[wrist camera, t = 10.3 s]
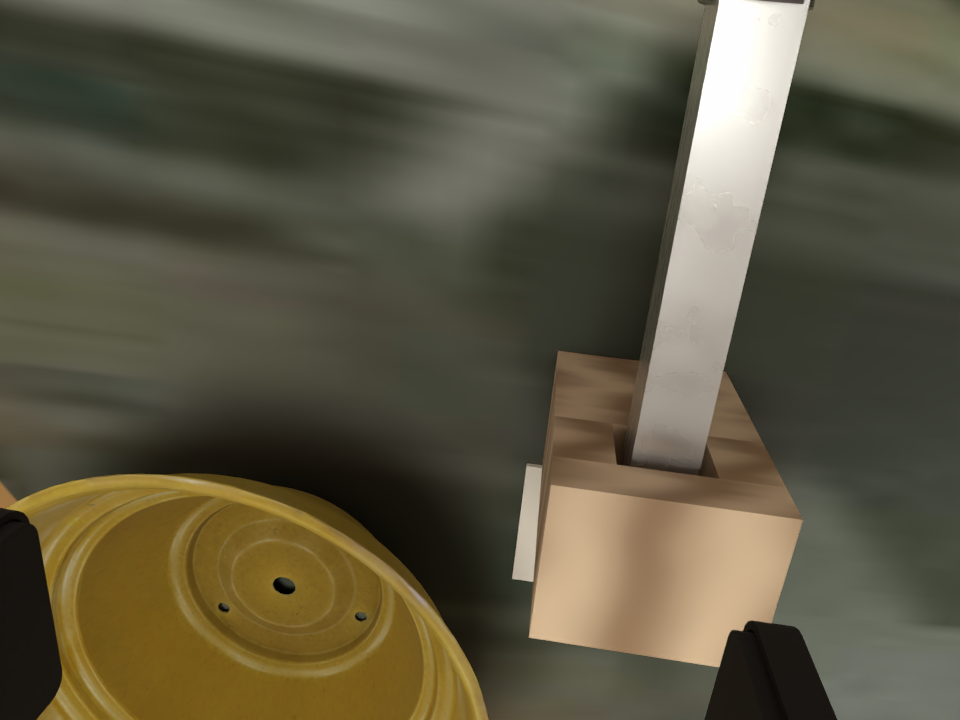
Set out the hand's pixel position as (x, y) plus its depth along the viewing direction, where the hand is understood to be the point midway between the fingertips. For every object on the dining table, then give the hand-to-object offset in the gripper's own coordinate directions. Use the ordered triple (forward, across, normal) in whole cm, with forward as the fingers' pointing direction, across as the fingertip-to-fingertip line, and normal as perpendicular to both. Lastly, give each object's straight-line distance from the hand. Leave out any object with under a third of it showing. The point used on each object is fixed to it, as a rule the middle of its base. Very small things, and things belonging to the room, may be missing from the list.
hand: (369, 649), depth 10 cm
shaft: (+25, -8, +1) cm, 26 cm away
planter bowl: (+34, +14, +28) cm, 46 cm away
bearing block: (+33, -8, +12) cm, 36 cm away
